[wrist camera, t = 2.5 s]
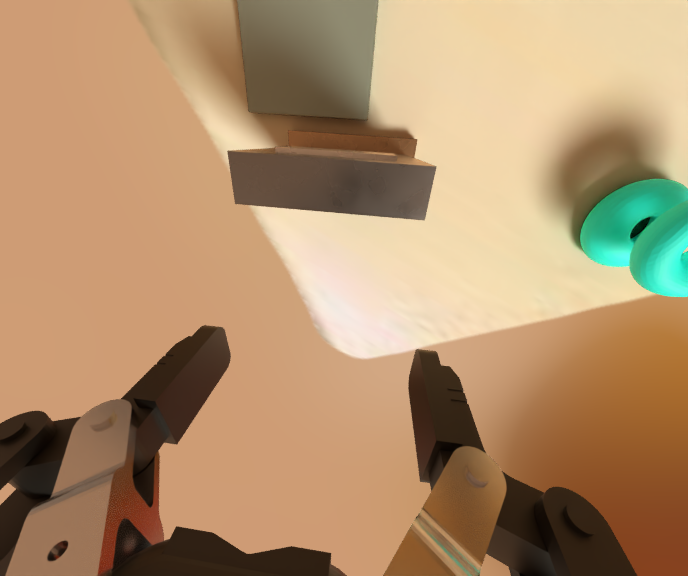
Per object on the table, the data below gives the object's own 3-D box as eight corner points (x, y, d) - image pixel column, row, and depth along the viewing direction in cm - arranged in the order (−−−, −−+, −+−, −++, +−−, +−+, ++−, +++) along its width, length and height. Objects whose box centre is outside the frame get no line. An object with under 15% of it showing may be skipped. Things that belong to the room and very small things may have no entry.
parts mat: (384, -64, 22) (384, -72, 21) (367, 120, 28) (367, 119, 27) (234, -67, 22) (229, -76, 21) (252, 112, 29) (248, 111, 28)
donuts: (704, 316, 25) (620, 279, 24) (619, 272, 34) (555, 242, 33) (839, 223, 20) (741, 170, 19) (698, 199, 29) (626, 161, 28)
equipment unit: (415, 139, 29) (462, 136, 13) (405, 195, 32) (435, 245, 16) (292, 130, 29) (205, 118, 14) (294, 186, 32) (224, 225, 17)
